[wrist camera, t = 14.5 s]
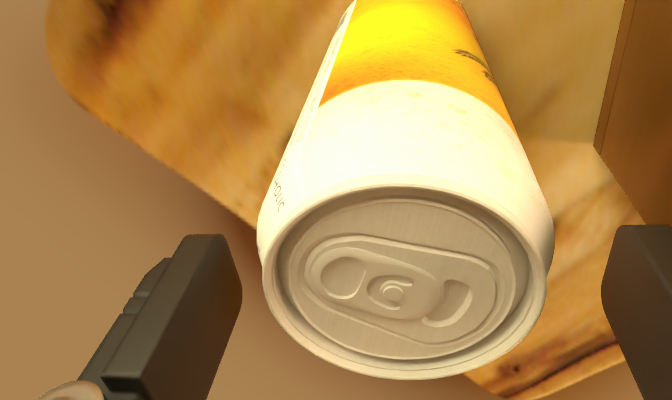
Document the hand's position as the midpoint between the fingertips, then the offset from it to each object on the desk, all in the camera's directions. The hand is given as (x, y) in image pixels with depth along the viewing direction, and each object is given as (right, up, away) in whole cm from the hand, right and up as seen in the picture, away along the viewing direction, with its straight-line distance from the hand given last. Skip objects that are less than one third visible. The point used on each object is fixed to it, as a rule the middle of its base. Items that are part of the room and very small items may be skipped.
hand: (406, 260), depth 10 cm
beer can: (+1, +8, +11) cm, 14 cm away
